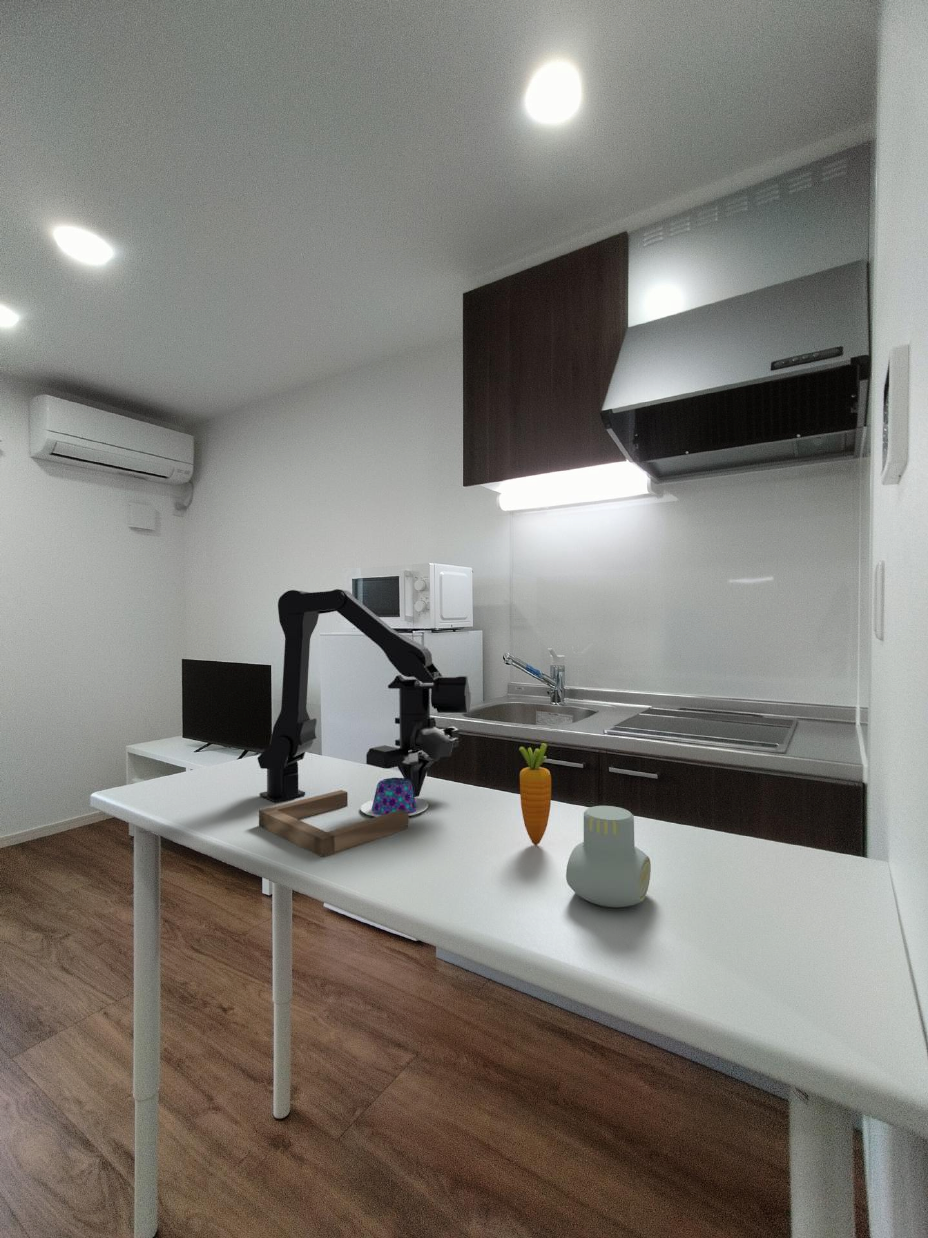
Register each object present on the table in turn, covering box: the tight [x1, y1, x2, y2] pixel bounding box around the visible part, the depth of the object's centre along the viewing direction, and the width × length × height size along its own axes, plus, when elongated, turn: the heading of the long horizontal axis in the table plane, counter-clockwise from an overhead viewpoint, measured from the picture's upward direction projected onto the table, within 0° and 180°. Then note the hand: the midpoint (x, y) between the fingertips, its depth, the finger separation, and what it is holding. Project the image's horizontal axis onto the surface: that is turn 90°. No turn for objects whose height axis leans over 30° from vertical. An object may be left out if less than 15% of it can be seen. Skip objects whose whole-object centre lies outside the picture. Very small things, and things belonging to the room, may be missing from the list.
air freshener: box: [565, 805, 652, 909], centre depth 68 cm, size 11×8×10 cm
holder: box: [258, 789, 410, 858], centre depth 92 cm, size 19×16×2 cm
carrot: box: [518, 742, 552, 846], centre depth 84 cm, size 5×5×15 cm
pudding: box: [360, 777, 429, 818], centre depth 101 cm, size 12×12×5 cm
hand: (415, 796), depth 105 cm, fingers closed
